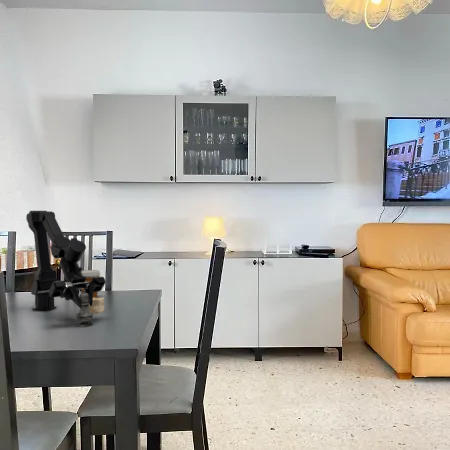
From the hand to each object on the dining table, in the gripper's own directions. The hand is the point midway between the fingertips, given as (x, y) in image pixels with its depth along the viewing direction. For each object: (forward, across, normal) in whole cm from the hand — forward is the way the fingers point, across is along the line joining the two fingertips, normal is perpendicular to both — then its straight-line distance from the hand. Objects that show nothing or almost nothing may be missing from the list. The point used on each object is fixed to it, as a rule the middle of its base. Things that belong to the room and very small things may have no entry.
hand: (86, 306), depth 156 cm
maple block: (-8, -13, -17) cm, 23 cm away
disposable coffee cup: (-27, -24, -36) cm, 51 cm away
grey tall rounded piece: (+4, 0, -6) cm, 7 cm away
